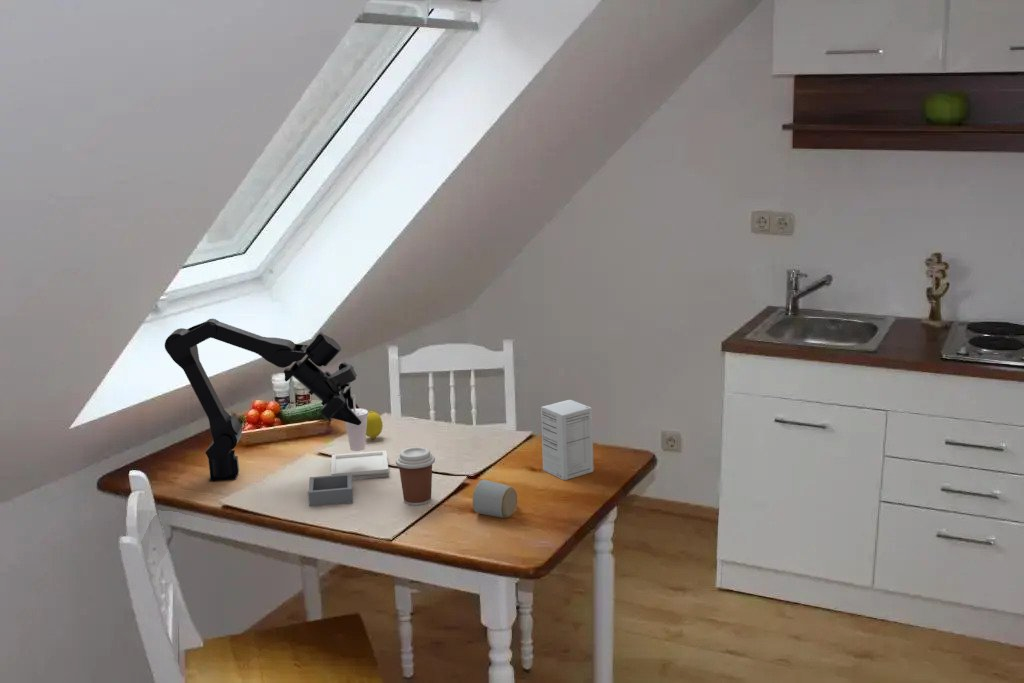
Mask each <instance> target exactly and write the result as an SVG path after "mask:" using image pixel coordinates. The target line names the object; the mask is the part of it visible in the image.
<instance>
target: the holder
mask: <svg viewBox="0 0 1024 683" xmlns="http://www.w3.org/2000/svg"><path fill="white" fill-rule="evenodd" d="M308 479H309V480H308V482H309V483H308V492H307V493H308V504H309V507H310V506H311V507H321V506H330V505H331V506H332V505H342V504H343V505H344V504H352V503H354V497H353V496H354V493H353V492H354V491H353V487H354V486H353V480H352V474H341V475H319V476H310V477H309V478H308ZM311 507H310V508H311Z"/></svg>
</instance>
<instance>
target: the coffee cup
mask: <svg viewBox="0 0 1024 683" xmlns="http://www.w3.org/2000/svg"><path fill="white" fill-rule="evenodd" d="M435 461H436V457H435V455H433V453H431V450H430V449H428V448H426V447H422V446H413V447H407V448H405V449H402V450H401V451H400V452H399V454H398V456H397V457H396V459H395V465H396V466H397V467H398V470H399V476H400V482H401V483H400V484H401V490H402V496H403V497H402V498H403V503H404V504H405V505H408V506H412V505H413V507H414V506H415V507H416V506H418V507H419V506H424V505H427V504H429V503H431V502H432V488H433V487H432V486H433V483H432V482H433V464H435Z"/></svg>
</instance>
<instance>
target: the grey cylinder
mask: <svg viewBox="0 0 1024 683" xmlns="http://www.w3.org/2000/svg"><path fill="white" fill-rule="evenodd" d="M517 506H518V493H517V491H516V489H515V488H514V487H512V486H510V485H508V484H503V483H499V482H496V481H491V480H489V479H481V480H480V481H479V482H478V483H477V484H476V486H475V488H474V491H473V493H472V507H473V511H474V512H475V513H476V514H481V515H485V516H486V515H487V516H490V517H491V516H492V517H495V518H496V517H497V518H502V519H504V518H510V517H511V516H513V514H514V512H515V510H516V507H517Z"/></svg>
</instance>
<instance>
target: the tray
mask: <svg viewBox="0 0 1024 683" xmlns="http://www.w3.org/2000/svg"><path fill="white" fill-rule="evenodd" d="M330 471H331V472H330V474H331V475H341V474H352V481H353V480H363V479H364V480H365V479H376V478H388V477H390V474H389V473H390V472H389V464H388V455H387V450H386V449H385V450H374V451H373V450H372V451H363V452H361V451H359V452H349V453H337V454H331V469H330Z"/></svg>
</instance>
